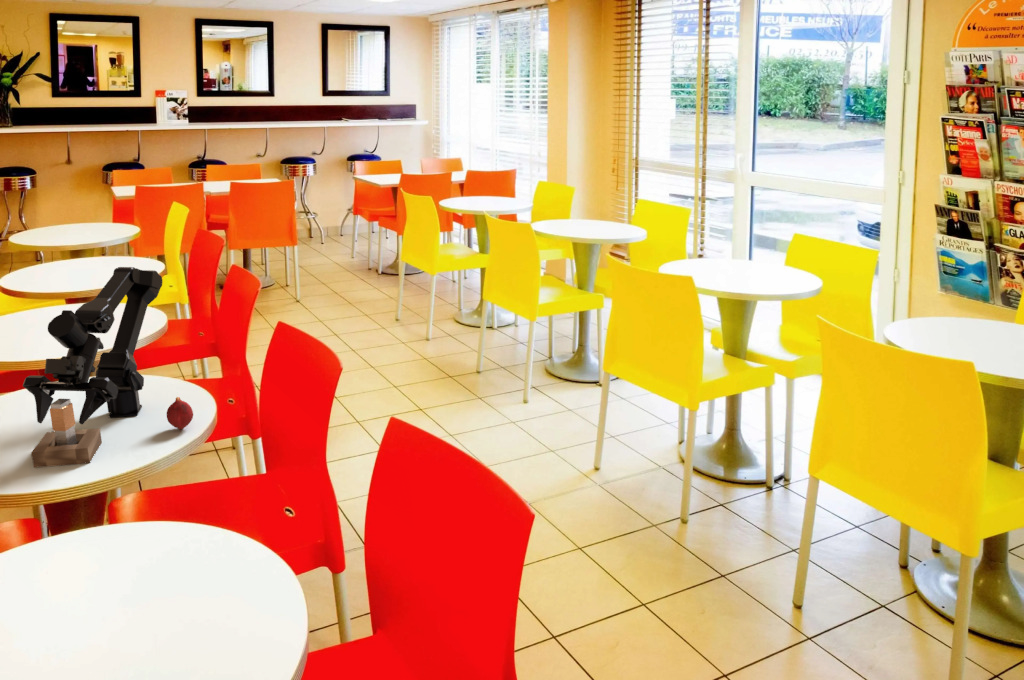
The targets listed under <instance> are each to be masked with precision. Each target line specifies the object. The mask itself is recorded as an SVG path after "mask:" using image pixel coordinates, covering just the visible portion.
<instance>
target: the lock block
mask: <svg viewBox="0 0 1024 680" xmlns="http://www.w3.org/2000/svg"><path fill="white" fill-rule="evenodd" d="M75 433H76V440H77V444H75V445H63V446H57V442H56V436H55V431H47V432H46V433H44V435H43V436H42V438H41V439H40V441H39V442H38V443H37V444H36V445H35V447H34V448H33V449H32V451H31V452H30V453H31V459H32V465H33V468H34V469H35V468H44V467H46V468H47V467H56V466H58V465H59V466H69V465H81V464H82V463H83V464H90V463H91V462H92V460H93V459H92V458H94V457H95V455H96V453H97V452H98V450H99V448H100V447H101V445H102V443H103V442H102V440H103V439H102V436H101V435H102V434H101V428H100V427H99V428H87V429H86V428H85V429H75ZM99 446H100V447H99ZM96 451H97V452H96ZM94 454H95V455H94ZM93 456H94V457H93ZM90 461H91V462H90ZM83 464H82V465H83Z"/></svg>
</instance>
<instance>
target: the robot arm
mask: <svg viewBox="0 0 1024 680" xmlns="http://www.w3.org/2000/svg"><path fill="white" fill-rule="evenodd" d="M112 274H113V275H112V276H111V277H110V278H109V280H108V281H107V282H106V284H105V285H104V286H103V288H101V290H100V291H99V292H98V294H97V295H96V296H95V298H94V299H93V300H90V301H88V302H85V303H83V304H82V305H80V306H79V307H78V308H77V309H76V310H75V312H74V311H73V310H66V309H65V310H63V309H62V311H61V314H59V315H57V316H55V317H53V318H52V319H51V321H49V323H48V325H47V332H48V333H49V335H51V336H52V337H53V339H55V341H57V342H58V343H60V345H62V347H63V348H65V349H67V353H66V356H62V357H61V358H46V359H45V367H44V374H52V377H53V379H55V380H58V381H52V380H50V379H49V378H48V377H47V376H45V375H28V376H26V377H25V379H24V381H23V384H22V387H23V388H24V389H26V390H27V391H28V392H29V393H30V394H32V395H33V396H34V401H35V407H36V409H35V410H36V420H37V421H36V422H37V423H39V424H42V423H43V421H44V420H45V418H46V416H47V414H48V412H49V411H50V408H51V405H50V404H52V403H53V402H54V398H53V396H54V394H55V392H56V391H59V392H61V391H62V392H63V391H64V392H85V400H84V403H83V406H82V409H81V412H80V414H79V418H78V419H79V420H78V424H80V425H83V424H85V423H86V422H87V420H89V419H90V417H91V416H92V415H93V414H94V413H96V411H98V410H99V409H100V408H101V407H102V406H103V405H104V404H106V405H107V412H108V413H109V415H108V416H109V418H121V417H123V418H124V417H135V416H138V415H139V413H140V412H141V409H142V408H143V405H142V404H141V403H140V395H139V391H141V390H143V387H145V386H144V384H145V377H144V376H143V375H142V374H141V373H140V372H139V371H138V365H137V362H136V360H135V357H134V354H135V352H136V346H137V343H138V340H139V336H140V333H141V329H142V326H143V323H144V320H145V316H146V312H147V308H148V306H149V305H150V304H151V303H152V302H153V301H154V300H155V299H157V298H158V295H159V293H160V290H161V288H162V286H163V277H162V275H160V274H159V273H158V271H156V270H151V269H150V270H149V269H148V270H146V269H145V270H143V269H139V268H135V267H133V266H119V267H116V268H114V270H113V273H112ZM124 297H126V303H125V306H124V309H123V312H122V315H121V319H120V322H119V326H118V329H117V333H116V336H115V339H114V343H113V346H112V348H111V350H110V351H108V352H105V351H104V352H102V353H101V354H100V357H99V358H100V359H99V361H98V364H97V366H96V367H95V366H94V363H95V361H96V357H97V354H98V351H99V350H104V344H103V342H102V341H101V337H98V336H96V335H94V334H107V333H108V332H109V331H110V330H111V328H112V326H113V324H114V322H115V314H114V312H115V310H116V309H117V308H118V306H119V305H120V304H121V303H122V300H124ZM91 373H95V376H92V377H91V375H92V374H91ZM90 377H91V378H90Z"/></svg>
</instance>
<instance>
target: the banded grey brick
mask: <svg viewBox="0 0 1024 680" xmlns="http://www.w3.org/2000/svg"><path fill="white" fill-rule="evenodd" d="M49 414H50V420H51V425H52V430H53V431H52V432H55V436H56V442H57V446H63V445H75V444H77V440H76V433H75V430H76V428H75V427H76V419H75V411H74V407H73V402H71V399H70V398H58V399H57V400H55V401H52V403H51V404H50V408H49Z"/></svg>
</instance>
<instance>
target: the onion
mask: <svg viewBox="0 0 1024 680" xmlns="http://www.w3.org/2000/svg"><path fill="white" fill-rule="evenodd" d="M166 419H167V422H168V423H169V424H170V425H171V426H172V427H174V428H176V429H178V430H184V429H185V428H186V427H188V426H189V424H190V423H191V421H192V420H193V419H194V410H193V408H192V406H191V405H190V404H189V403H188V402H186V401H184V400H182V399H181V397H179V396H176V398H175V401H174V402H172V403H171V404H170V405H169V407H168V408H167V411H166Z"/></svg>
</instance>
